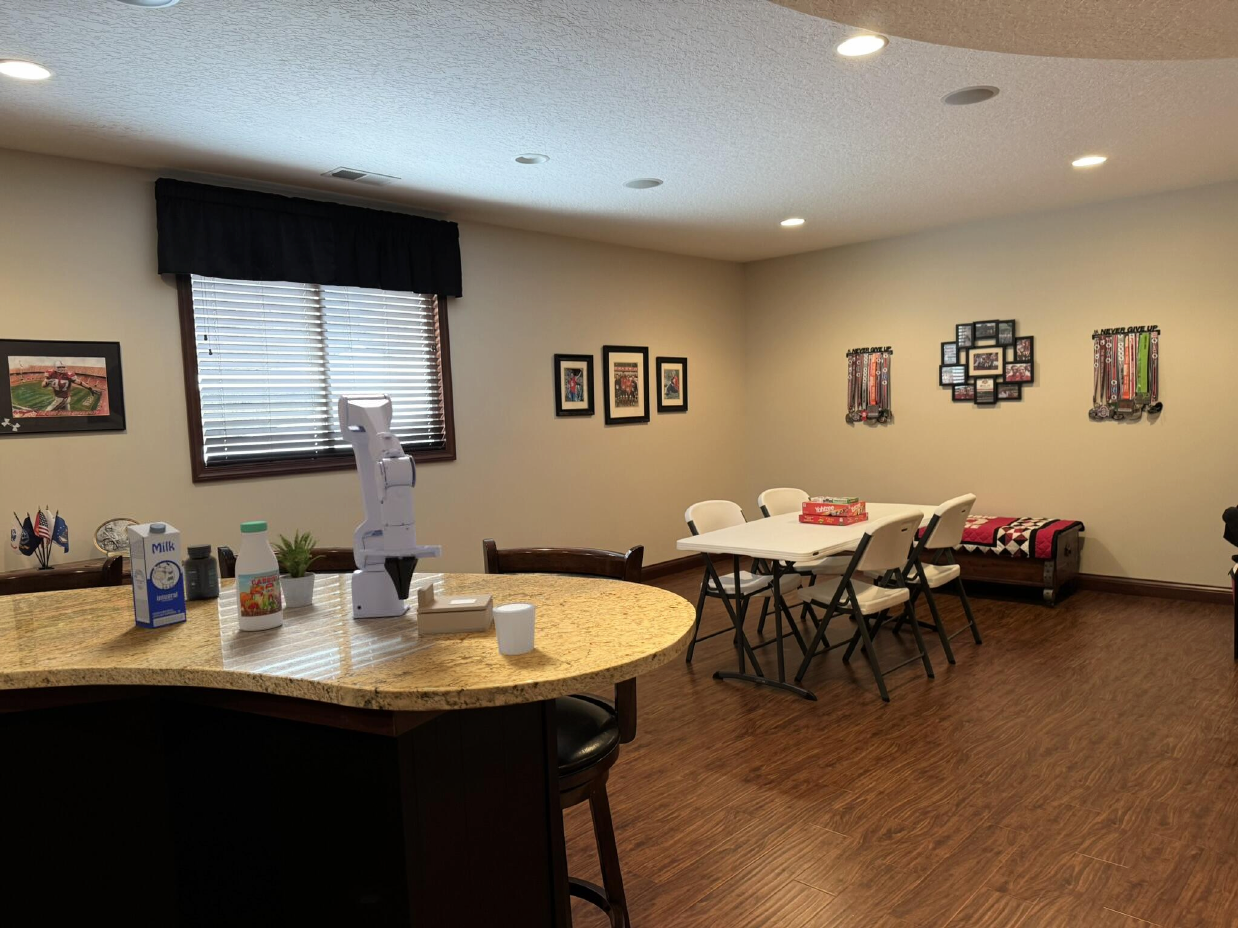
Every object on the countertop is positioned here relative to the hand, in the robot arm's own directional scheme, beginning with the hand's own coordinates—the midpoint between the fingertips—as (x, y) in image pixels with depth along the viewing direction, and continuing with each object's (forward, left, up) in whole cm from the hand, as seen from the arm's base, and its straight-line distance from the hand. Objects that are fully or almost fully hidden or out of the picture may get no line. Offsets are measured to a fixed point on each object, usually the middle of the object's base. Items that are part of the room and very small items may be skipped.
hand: (403, 598), depth 151 cm
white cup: (+22, -18, -6) cm, 29 cm away
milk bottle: (-29, +8, -6) cm, 31 cm away
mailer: (+9, 0, -6) cm, 11 cm away
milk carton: (-52, +16, -6) cm, 55 cm away
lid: (+9, 0, -2) cm, 9 cm away
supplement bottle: (-55, +40, -6) cm, 68 cm away
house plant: (-29, +28, -6) cm, 41 cm away
